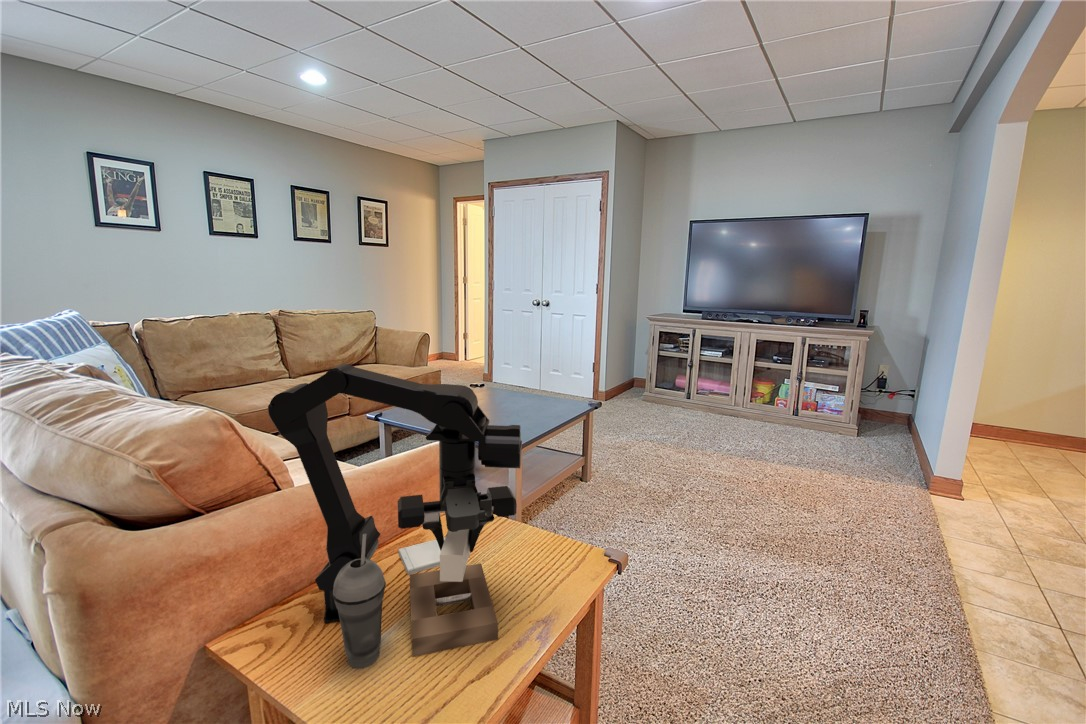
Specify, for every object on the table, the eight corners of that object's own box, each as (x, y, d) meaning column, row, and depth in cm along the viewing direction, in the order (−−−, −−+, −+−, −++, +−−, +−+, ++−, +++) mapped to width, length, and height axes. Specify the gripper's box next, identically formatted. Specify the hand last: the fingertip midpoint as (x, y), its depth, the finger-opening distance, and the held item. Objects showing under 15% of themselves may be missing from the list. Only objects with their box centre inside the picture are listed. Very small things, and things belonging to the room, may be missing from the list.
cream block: (439, 581, 74) (439, 554, 73) (452, 538, 86) (452, 515, 85) (462, 581, 74) (462, 555, 74) (472, 539, 86) (472, 516, 85)
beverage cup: (350, 637, 75) (342, 520, 72) (395, 639, 75) (390, 522, 72) (328, 675, 68) (318, 547, 65) (378, 677, 68) (371, 549, 64)
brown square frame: (412, 656, 72) (411, 639, 71) (410, 589, 87) (409, 574, 86) (497, 639, 76) (497, 622, 75) (481, 577, 91) (481, 563, 90)
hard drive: (456, 533, 104) (398, 547, 98) (469, 552, 97) (407, 569, 91) (456, 540, 104) (398, 555, 98) (469, 560, 97) (408, 577, 91)
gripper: (397, 493, 67) (399, 593, 70) (526, 480, 72) (523, 573, 75) (396, 462, 77) (398, 550, 80) (509, 453, 83) (507, 536, 86)
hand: (457, 553), depth 80 cm, fingers closed on cream block, 4 cm apart
